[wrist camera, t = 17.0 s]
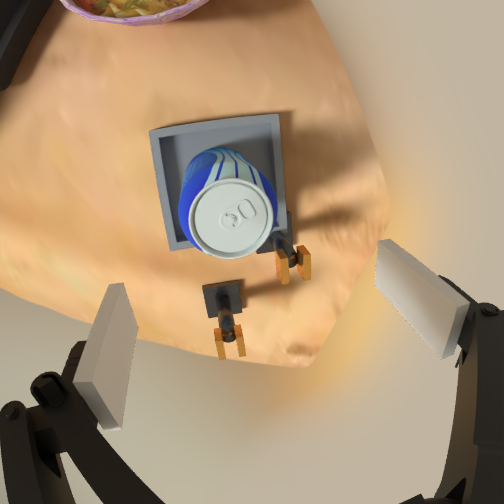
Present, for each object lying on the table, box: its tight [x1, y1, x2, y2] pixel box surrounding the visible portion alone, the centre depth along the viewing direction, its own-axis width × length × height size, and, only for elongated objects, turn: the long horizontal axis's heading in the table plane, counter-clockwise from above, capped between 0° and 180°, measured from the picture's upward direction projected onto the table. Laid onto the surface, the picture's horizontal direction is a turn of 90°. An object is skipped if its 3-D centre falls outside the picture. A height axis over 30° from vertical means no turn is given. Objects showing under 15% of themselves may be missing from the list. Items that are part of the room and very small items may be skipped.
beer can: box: [178, 147, 278, 259], centre depth 32 cm, size 8×8×16 cm
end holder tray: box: [149, 114, 288, 251], centre depth 39 cm, size 15×15×2 cm
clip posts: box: [202, 211, 311, 360], centre depth 40 cm, size 13×14×11 cm
